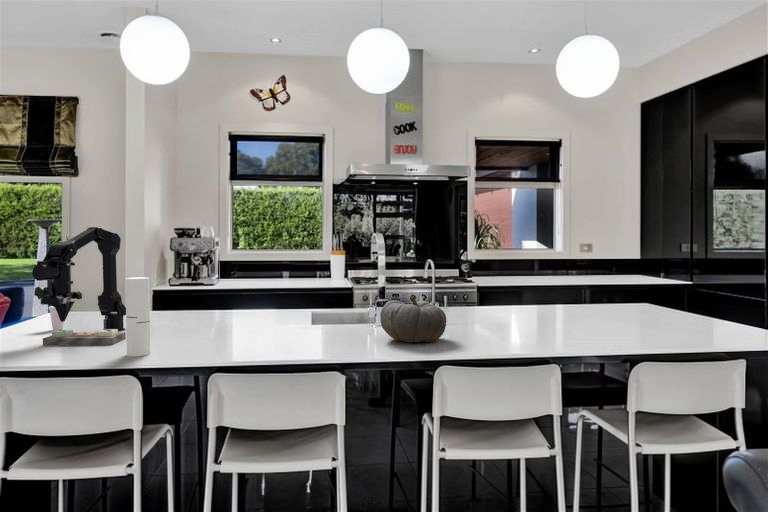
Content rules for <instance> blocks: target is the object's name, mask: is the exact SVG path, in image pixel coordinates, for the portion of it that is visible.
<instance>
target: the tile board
mask: <svg viewBox="0 0 768 512" xmlns="http://www.w3.org/2000/svg"><path fill="white" fill-rule="evenodd" d="M94 332H95V331H94ZM78 333H79V332H73V335H70V336H68V337H52V334H51V335H49V336H46V337H43V338H42V346H43V347H44V346H45V347H46V346H111V345H115V344H118V343H121V342H122V341H124V340H127V336H126V331H118V334H117V335H115V336H98V331H97V332H95V335H93V336H90V337H75V334H78Z"/></svg>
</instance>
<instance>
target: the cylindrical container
mask: <svg viewBox="0 0 768 512" xmlns="http://www.w3.org/2000/svg"><path fill="white" fill-rule="evenodd" d="M150 293H151V292H150V277H144V276H142V277H137V276H136V277H126V278H125V307H126V315H125V316H126V317H125V320H126V321H125V325H126V327H125V333H126V357H127V356H128V357H143V356H148V355H151V307H150V306H151V305H150V304H151V301H150V300H151V299H150Z"/></svg>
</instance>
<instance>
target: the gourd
mask: <svg viewBox="0 0 768 512" xmlns="http://www.w3.org/2000/svg"><path fill="white" fill-rule="evenodd" d="M410 300H411V301H412V303H404V302H403V301H399V300H394V299H393V300H389V301H387V302H386V303H384V305H383V306H382V308H381V309H380V313H379V314H380V316H379V317H380V318H379V320H380V323H381V327H382V329H383V330H384V332H385V333H386V334H387V335H388V336H389V337H390V338H392V339H394V340H396V341H399V342H400V341H402V342H404V343H405V342H407V343H420V342H425V343H430V342H434V341H437V340H438V339H440V338H441V337H442V336H443V334H444V333H445V331H446V327H447V316H446V313H445V311H443V309H441V308H439V307H437V306H436V305H435V304H432V303H430V302H428V301H426V300H425V301H424V300H419V301H416V298H415V296H414V295H411V296H410Z"/></svg>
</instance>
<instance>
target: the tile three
mask: <svg viewBox="0 0 768 512" xmlns="http://www.w3.org/2000/svg"><path fill="white" fill-rule="evenodd" d="M97 332H98V336H115V335H117V334H118V332H119V331H118V329H104V328H102V329H101V330H99V331H97Z"/></svg>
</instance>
